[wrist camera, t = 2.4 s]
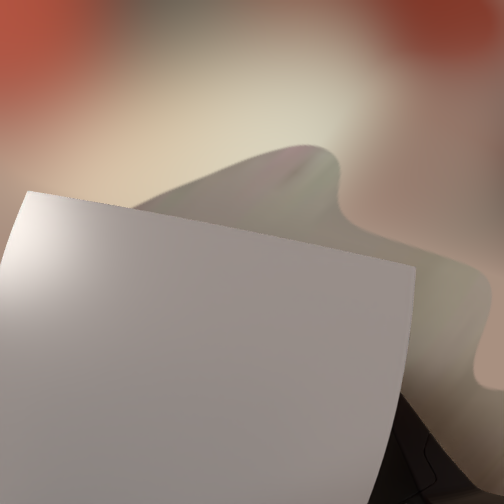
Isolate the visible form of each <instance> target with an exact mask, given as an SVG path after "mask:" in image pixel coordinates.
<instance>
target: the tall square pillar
mask: <svg viewBox="0 0 504 504" xmlns="http://www.w3.org/2000/svg"><path fill="white" fill-rule="evenodd" d="M415 274H416V267H414V266H410V265H405V264H401V263H397V262H392V261H388V260H383V259H379V258H374V257H370V256H365V255H361V254H356V253H352V252H347V251H342V250H338V249H333V248H328V247H324V246H319V245H314V244H309V243H305V242H300V241H295V240H290V239H286V238H281V237H276V236H271V235H266V234H261V233H256V232H251V231H246V230H241V229H236V228H231V227H226V226H221V225H216V224H211V223H206V222H200V221H195V220H190V219H185V218H180V217H174V216H169V215H164V214H158V213H153V212H147V211H142V210H137V209H131V208H126V207H120V206H114V205H109V204H103V203H97V202H91V201H85V200H80V199H74V198H68V197H62V196H56V195H50V194H44V193H38V192H32V191H27V194H26V196H25V199H24V201H23V203H22V205H21V208H20V211H19V213H18V215H17V218H16V221H15V223H14V226H13V229H12V231H11V234H10V237H9V240H8V243H7V246H6V249H5V252H4V255H3V258H2V261H1V265H0V504H367V503H368V500H369V498H370V495H371V492H372V490H373V487H374V484H375V481H376V478H377V475H378V472H379V469H380V466H381V463H382V460H383V457H384V453H385V450H386V446H387V443H388V439H389V436H390V432H391V428H392V424H393V420H394V416H395V412H396V408H397V403H398V399H399V394H400V389H401V384H402V379H403V374H404V368H405V363H406V356H407V350H408V343H409V336H410V329H411V320H412V311H413V301H414V289H415Z"/></svg>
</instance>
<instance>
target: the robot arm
mask: <svg viewBox="0 0 504 504" xmlns="http://www.w3.org/2000/svg"><path fill="white" fill-rule="evenodd" d="M429 432H430V431H429V430H428V429H427V427H426V426H425V424H424V423H423V422H422V420H421V419H420V418H419V416H418V415H417V414H416V412H415V411H414V410H413V408H412V407H411V406H410V404H409V403H408V402H407V400H406V399H405V398H404V396H403V395H402V394H401V392H400V394H399V399H398V403H397V408H396V412H395V416H394V420H393V424H392V428H391V432H390V436H389V439H388V443H387V446H386V450H385V453H384V457H383V460H382V463H381V466H380V469H379V472H378V475H377V478H376V481H375V484H374V487H373V490H372V492H371V495H370V498H369V500H368V503H367V504H504V496H500V495H496V494H492V493H488V492H485V491H482V490H480V489H479V488H477V487H476V486H475V485H474V484H473V483H472V482H471V481H470V480H469V479H468V478H467V477H466V475H465V474H464V473H463V472H462V471H461V470H460V469H459V468H458V466H457V465H456V464H455V463H454V462H453V461H452V460H451V458H450V457H449V456H448V455H447V454H446V452H445V451H444V450H443V449H442V447H441V446H440V445H439V443H438V442H437V441H436V439H435V438H434V437H433V435H432V434H431V433H429Z"/></svg>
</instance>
